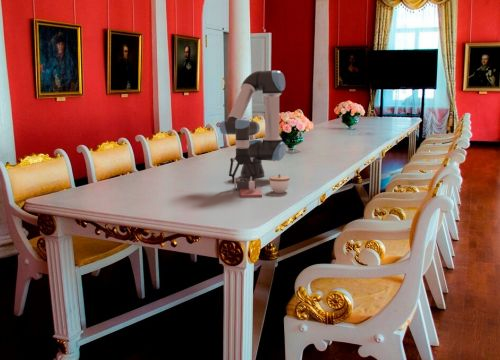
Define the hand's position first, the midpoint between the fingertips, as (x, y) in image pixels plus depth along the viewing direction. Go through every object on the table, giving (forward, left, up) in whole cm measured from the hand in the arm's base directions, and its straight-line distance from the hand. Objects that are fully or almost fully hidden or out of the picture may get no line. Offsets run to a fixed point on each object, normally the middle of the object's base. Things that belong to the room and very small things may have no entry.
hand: (243, 188), depth 291 cm
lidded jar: (+9, +19, 0) cm, 21 cm away
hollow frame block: (0, 0, 0) cm, 0 cm away
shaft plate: (+14, +4, 0) cm, 14 cm away
